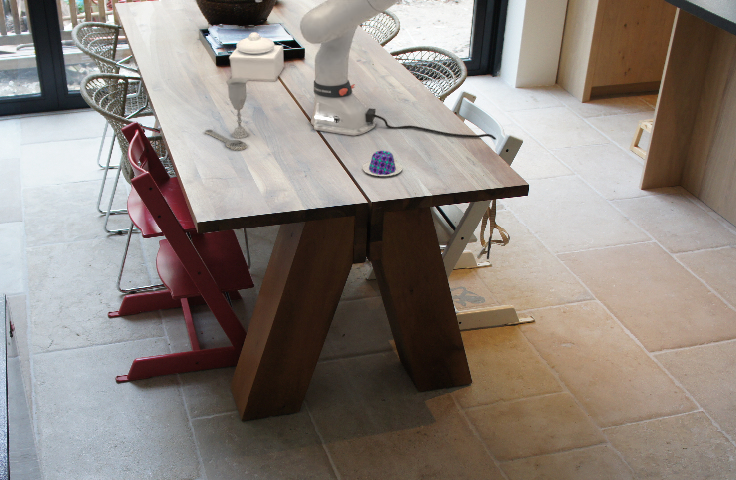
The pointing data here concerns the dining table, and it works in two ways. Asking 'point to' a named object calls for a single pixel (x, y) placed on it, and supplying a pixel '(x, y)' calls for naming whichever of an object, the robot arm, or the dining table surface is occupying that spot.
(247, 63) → the white square lidded jar
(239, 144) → the spoon
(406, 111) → the dining table surface
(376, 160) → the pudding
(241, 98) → the chalice
